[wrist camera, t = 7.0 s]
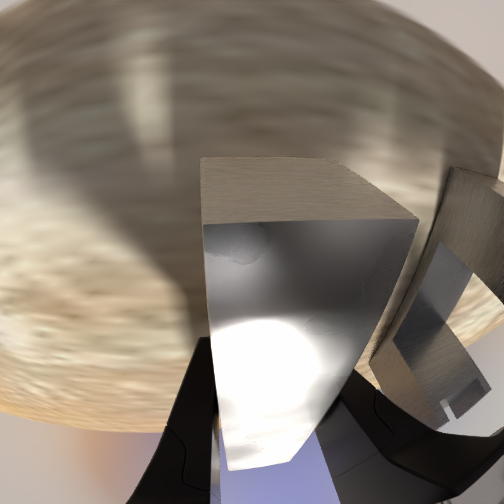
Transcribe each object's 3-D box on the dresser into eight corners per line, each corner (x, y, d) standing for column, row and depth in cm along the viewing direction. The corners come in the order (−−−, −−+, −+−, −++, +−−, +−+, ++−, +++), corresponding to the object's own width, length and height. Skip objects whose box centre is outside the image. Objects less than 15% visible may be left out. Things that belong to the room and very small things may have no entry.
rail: (334, 159, 6) (419, 219, 3) (276, 413, 12) (289, 461, 10) (200, 157, 5) (202, 224, 3) (220, 420, 12) (228, 470, 9)
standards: (498, 179, 9) (587, 247, 4) (420, 346, 15) (462, 415, 10) (451, 165, 8) (576, 255, 3) (368, 363, 15) (409, 447, 10)
